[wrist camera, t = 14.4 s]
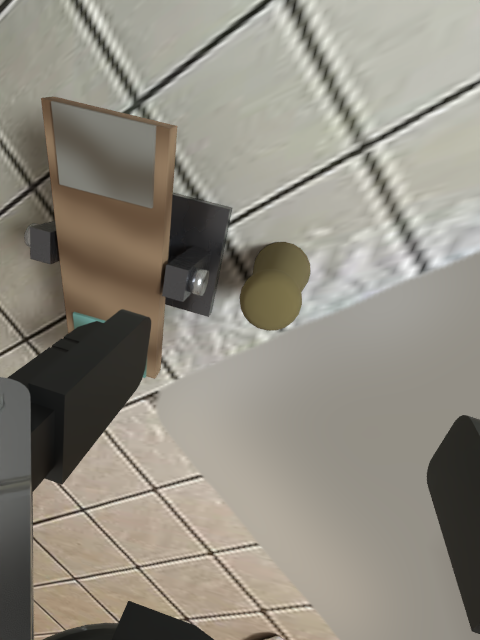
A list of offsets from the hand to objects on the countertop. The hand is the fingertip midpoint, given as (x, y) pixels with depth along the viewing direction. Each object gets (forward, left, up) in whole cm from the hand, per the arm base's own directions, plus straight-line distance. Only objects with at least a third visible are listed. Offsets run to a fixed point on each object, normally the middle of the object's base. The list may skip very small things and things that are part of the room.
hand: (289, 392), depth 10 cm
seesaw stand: (+7, -17, -31) cm, 36 cm away
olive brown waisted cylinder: (+6, -2, -31) cm, 32 cm away
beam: (+7, -17, -24) cm, 30 cm away
